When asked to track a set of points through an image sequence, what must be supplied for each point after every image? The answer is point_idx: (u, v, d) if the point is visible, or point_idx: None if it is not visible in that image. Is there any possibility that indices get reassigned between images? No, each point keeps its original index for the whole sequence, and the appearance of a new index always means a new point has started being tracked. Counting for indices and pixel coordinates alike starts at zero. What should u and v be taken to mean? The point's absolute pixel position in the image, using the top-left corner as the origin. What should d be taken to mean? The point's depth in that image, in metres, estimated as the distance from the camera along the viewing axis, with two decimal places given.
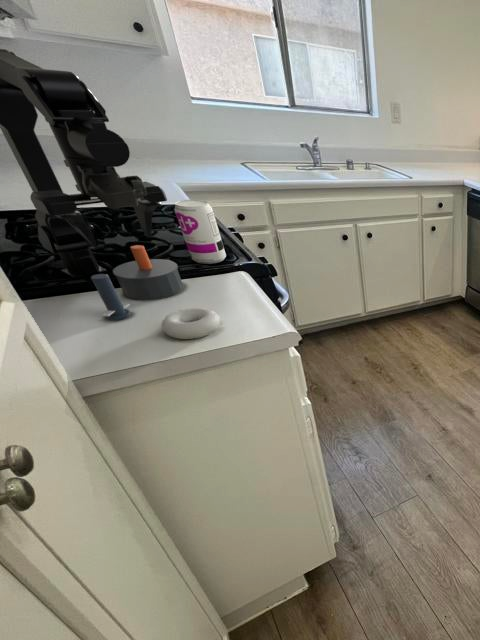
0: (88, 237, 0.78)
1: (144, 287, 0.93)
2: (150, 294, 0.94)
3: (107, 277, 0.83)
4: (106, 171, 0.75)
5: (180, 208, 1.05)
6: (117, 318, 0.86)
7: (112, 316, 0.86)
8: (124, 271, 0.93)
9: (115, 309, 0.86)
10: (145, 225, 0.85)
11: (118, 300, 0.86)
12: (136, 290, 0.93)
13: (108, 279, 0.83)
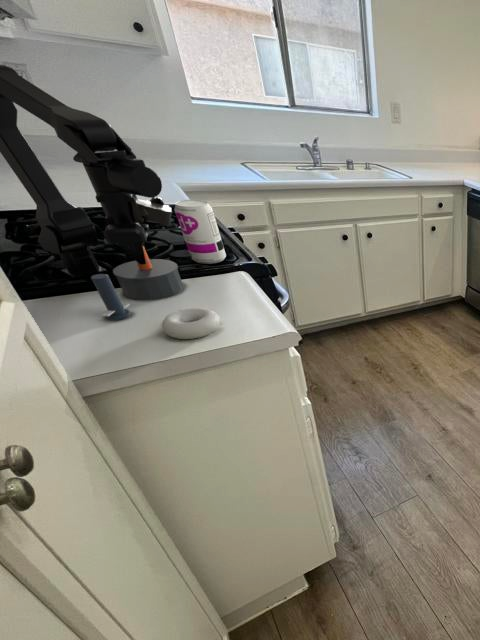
0: None
1: (144, 287, 0.93)
2: (150, 294, 0.94)
3: (107, 277, 0.83)
4: (135, 198, 0.89)
5: (180, 208, 1.05)
6: (117, 318, 0.86)
7: (112, 316, 0.86)
8: (124, 271, 0.93)
9: (115, 309, 0.86)
10: None
11: (118, 300, 0.86)
12: (136, 290, 0.93)
13: (108, 279, 0.83)
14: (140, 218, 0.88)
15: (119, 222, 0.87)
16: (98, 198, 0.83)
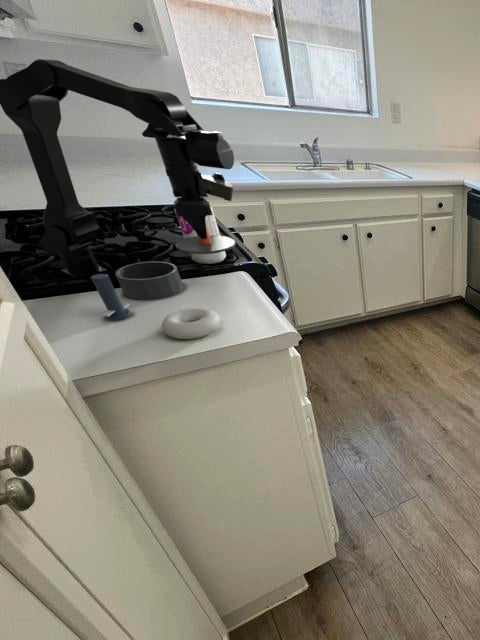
0: None
1: (144, 287, 0.93)
2: (150, 294, 0.94)
3: (107, 277, 0.83)
4: None
5: None
6: (117, 318, 0.86)
7: (112, 316, 0.86)
8: (186, 245, 0.95)
9: (115, 309, 0.86)
10: None
11: (118, 300, 0.86)
12: (136, 290, 0.93)
13: (108, 279, 0.83)
14: (205, 192, 0.91)
15: (185, 196, 0.89)
16: (168, 172, 0.86)
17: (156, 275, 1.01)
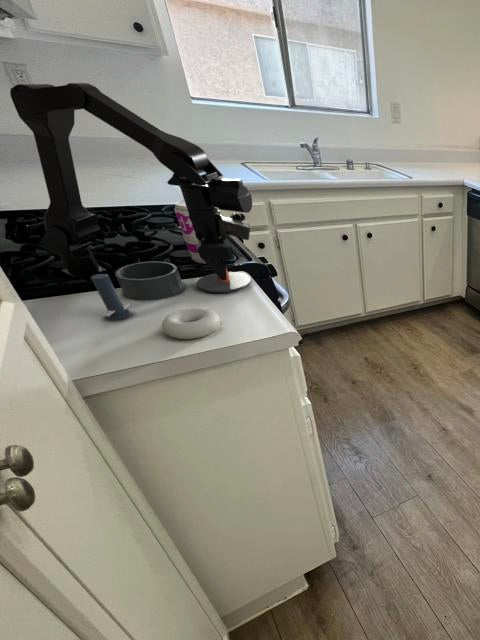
0: None
1: (144, 287, 0.93)
2: (150, 294, 0.94)
3: (107, 277, 0.83)
4: None
5: (180, 208, 1.05)
6: (117, 318, 0.86)
7: (112, 316, 0.86)
8: (206, 284, 1.02)
9: (115, 309, 0.86)
10: None
11: (118, 300, 0.86)
12: (136, 290, 0.93)
13: (108, 279, 0.83)
14: (225, 233, 0.96)
15: (207, 237, 0.95)
16: (191, 216, 0.92)
17: (156, 275, 1.01)
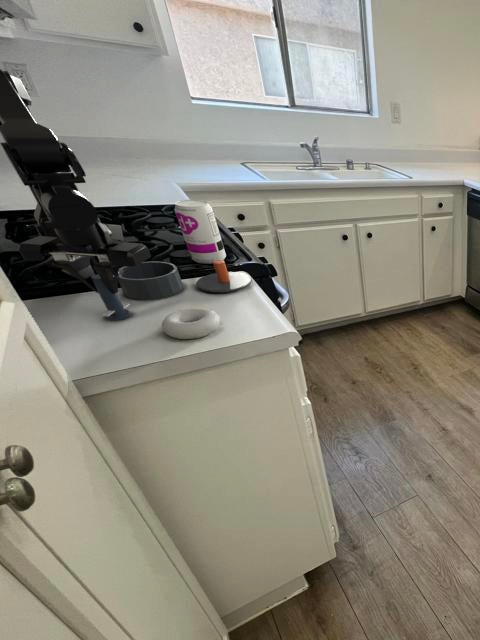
0: None
1: (144, 287, 0.93)
2: (150, 294, 0.94)
3: None
4: None
5: (180, 208, 1.05)
6: (117, 318, 0.86)
7: (112, 316, 0.86)
8: (206, 284, 1.02)
9: (115, 309, 0.86)
10: None
11: (118, 300, 0.86)
12: (136, 290, 0.93)
13: None
14: (110, 238, 0.81)
15: (97, 248, 0.79)
16: None
17: (156, 275, 1.01)
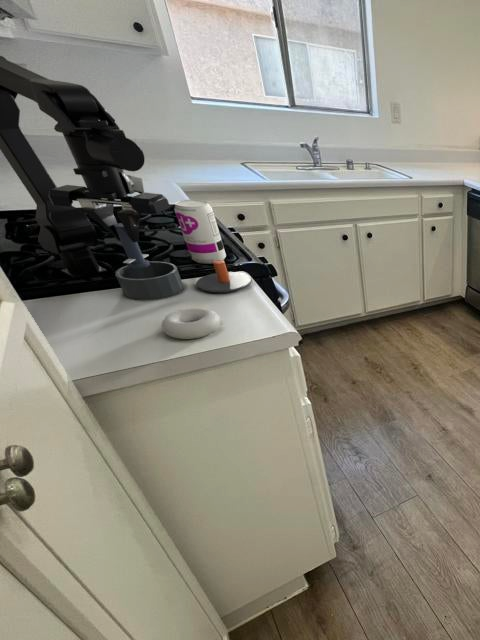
0: None
1: (144, 287, 0.93)
2: (150, 294, 0.94)
3: None
4: None
5: (180, 208, 1.05)
6: (137, 266, 0.92)
7: (132, 264, 0.92)
8: (206, 284, 1.02)
9: (135, 257, 0.91)
10: None
11: (138, 249, 0.91)
12: (136, 290, 0.93)
13: None
14: (132, 188, 0.87)
15: (121, 196, 0.84)
16: (103, 172, 0.80)
17: (156, 275, 1.01)
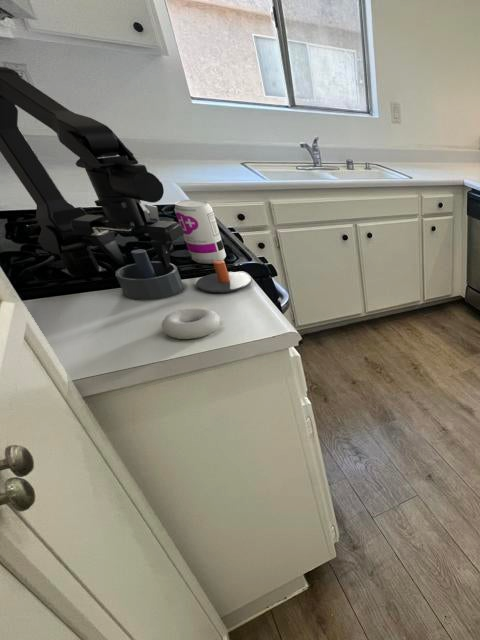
0: None
1: (144, 287, 0.93)
2: (150, 294, 0.94)
3: (145, 252, 0.93)
4: None
5: (180, 208, 1.05)
6: None
7: None
8: (206, 284, 1.02)
9: None
10: (119, 251, 0.93)
11: (153, 273, 0.96)
12: (136, 290, 0.93)
13: (146, 254, 0.94)
14: (148, 217, 0.92)
15: (138, 225, 0.89)
16: (122, 204, 0.85)
17: (156, 275, 1.01)
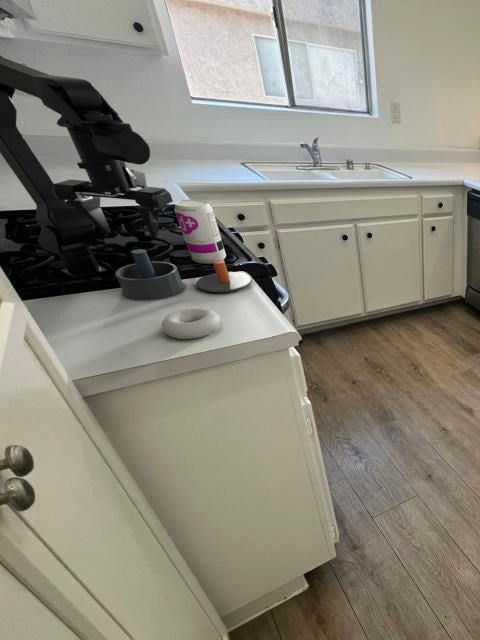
0: None
1: (144, 287, 0.93)
2: (150, 294, 0.94)
3: (145, 252, 0.93)
4: None
5: (180, 208, 1.05)
6: None
7: None
8: (206, 284, 1.02)
9: None
10: (105, 220, 0.89)
11: (153, 273, 0.96)
12: (136, 290, 0.93)
13: (146, 254, 0.94)
14: (135, 183, 0.88)
15: (124, 190, 0.85)
16: (107, 166, 0.81)
17: (156, 275, 1.01)
